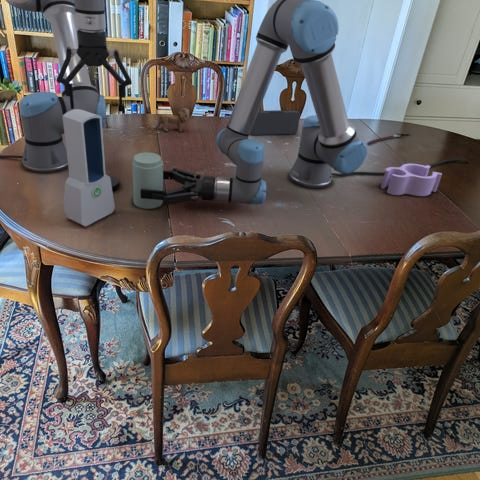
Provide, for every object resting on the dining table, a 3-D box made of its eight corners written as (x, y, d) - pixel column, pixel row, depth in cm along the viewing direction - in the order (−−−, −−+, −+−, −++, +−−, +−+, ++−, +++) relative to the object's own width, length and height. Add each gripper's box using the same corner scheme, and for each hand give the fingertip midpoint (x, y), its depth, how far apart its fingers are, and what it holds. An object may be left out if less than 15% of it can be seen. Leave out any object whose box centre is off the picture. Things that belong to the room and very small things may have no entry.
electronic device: (82, 228, 128) (71, 122, 112) (63, 219, 131) (50, 114, 115) (115, 211, 137) (109, 111, 121) (97, 203, 140) (89, 104, 124)
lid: (125, 186, 151) (124, 181, 150) (101, 196, 144) (101, 191, 143) (104, 176, 156) (104, 172, 155) (81, 186, 149) (80, 181, 148)
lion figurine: (187, 126, 202) (187, 106, 197) (190, 131, 198) (191, 110, 193) (153, 128, 197) (153, 107, 193) (156, 132, 193) (155, 111, 188)
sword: (406, 132, 223) (406, 130, 222) (411, 134, 221) (412, 132, 220) (362, 144, 207) (363, 141, 206) (368, 146, 205) (368, 143, 204)
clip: (394, 198, 162) (399, 180, 158) (374, 182, 171) (379, 165, 168) (440, 194, 168) (447, 177, 164) (419, 179, 178) (424, 162, 174)
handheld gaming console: (295, 131, 210) (298, 109, 204) (297, 134, 208) (301, 111, 202) (247, 133, 203) (249, 110, 197) (249, 135, 201) (251, 112, 195)
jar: (129, 197, 145) (127, 153, 137) (156, 193, 149) (156, 150, 141) (139, 210, 139) (137, 165, 131) (167, 206, 143) (167, 161, 135)
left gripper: (39, 29, 119) (50, 111, 131) (139, 35, 125) (141, 112, 137) (43, 24, 125) (52, 102, 137) (138, 29, 131) (139, 104, 143)
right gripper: (212, 220, 133) (137, 214, 132) (215, 182, 154) (151, 176, 153) (213, 197, 129) (136, 190, 128) (217, 161, 150) (151, 155, 149)
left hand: (97, 108), depth 137 cm, fingers open, 13 cm apart
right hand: (144, 183), depth 141 cm, fingers open, 13 cm apart
